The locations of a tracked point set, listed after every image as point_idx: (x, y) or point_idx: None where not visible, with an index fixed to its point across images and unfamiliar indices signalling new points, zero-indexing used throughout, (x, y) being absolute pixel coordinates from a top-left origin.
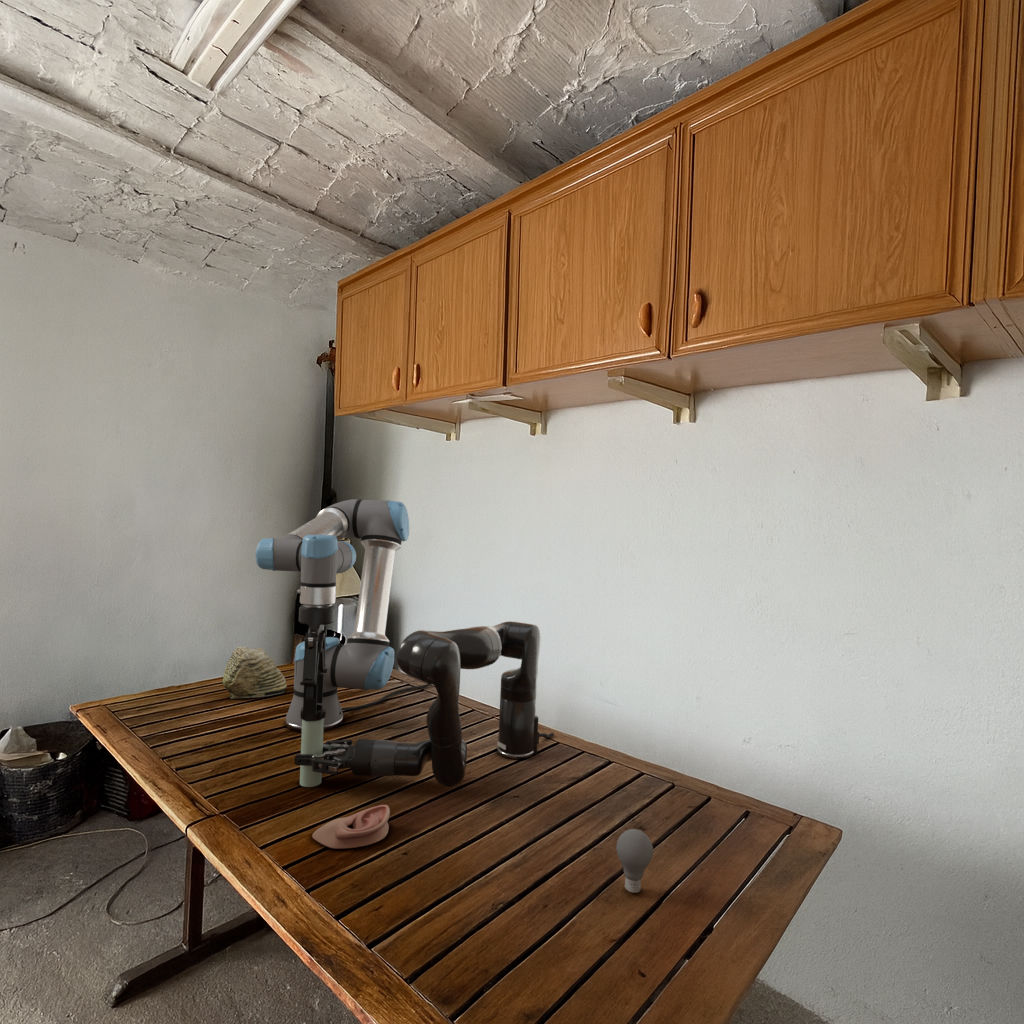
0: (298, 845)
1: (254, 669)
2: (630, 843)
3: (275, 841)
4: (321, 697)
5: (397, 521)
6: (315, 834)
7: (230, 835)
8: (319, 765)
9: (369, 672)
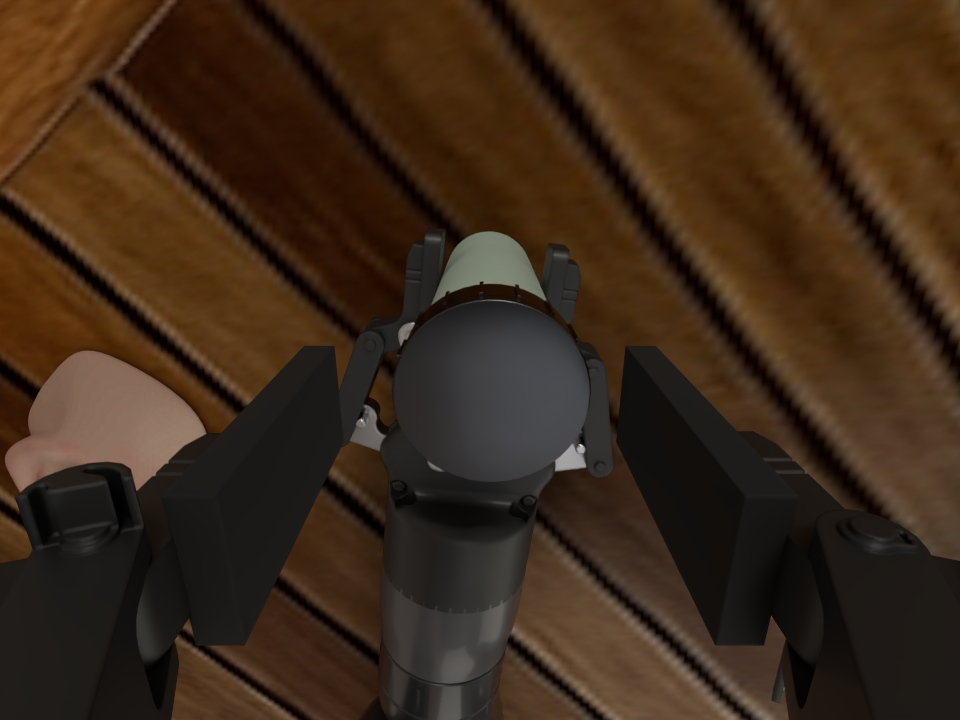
0: (37, 315)
1: None
2: None
3: (43, 236)
4: (628, 462)
5: None
6: (71, 364)
7: (46, 56)
8: None
9: None
